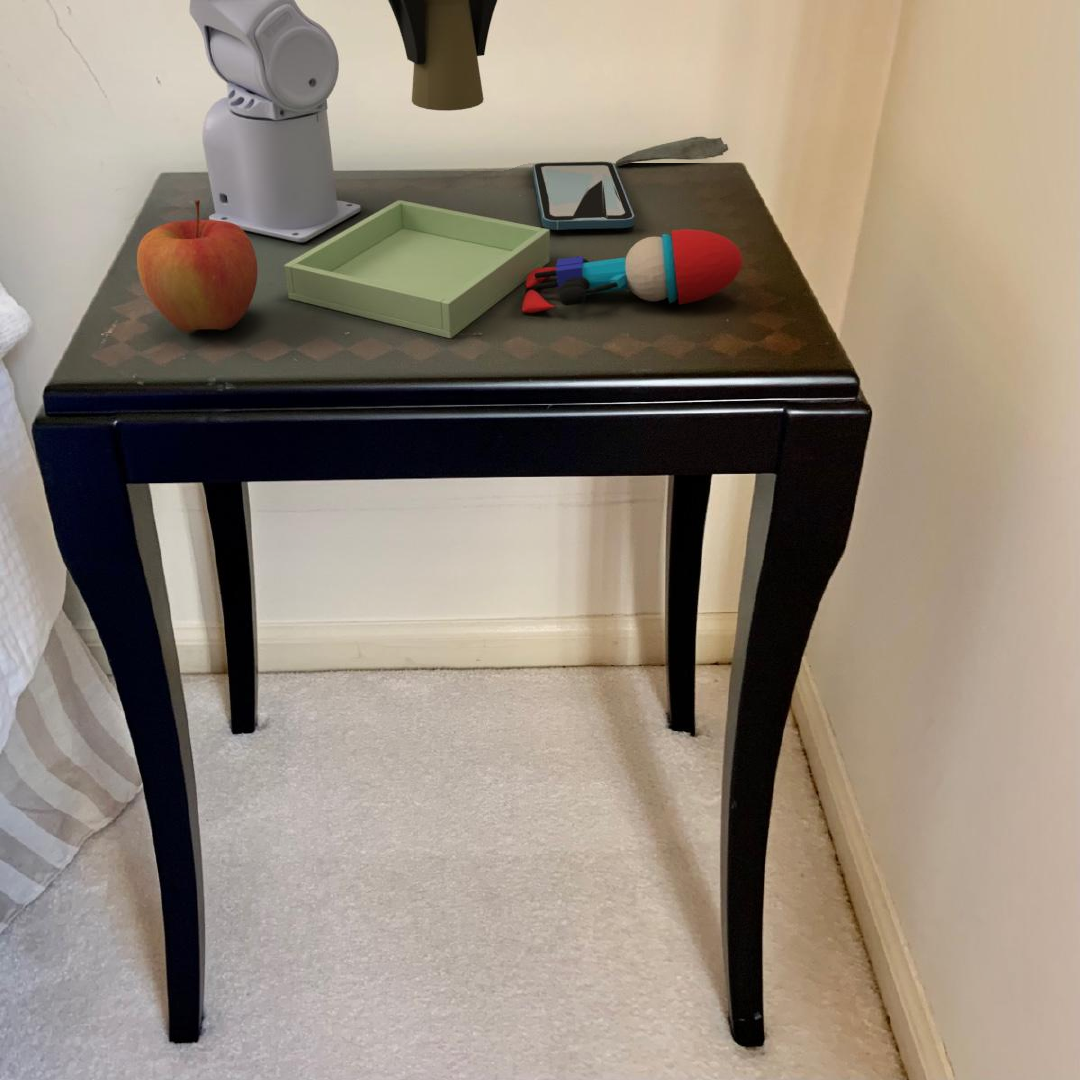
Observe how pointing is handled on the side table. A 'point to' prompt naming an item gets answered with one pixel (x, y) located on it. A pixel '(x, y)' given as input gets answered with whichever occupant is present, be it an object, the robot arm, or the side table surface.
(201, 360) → the side table surface
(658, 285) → the toy figure
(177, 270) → the apple
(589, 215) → the smartphone
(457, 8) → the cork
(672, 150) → the stone
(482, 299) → the spice tray
